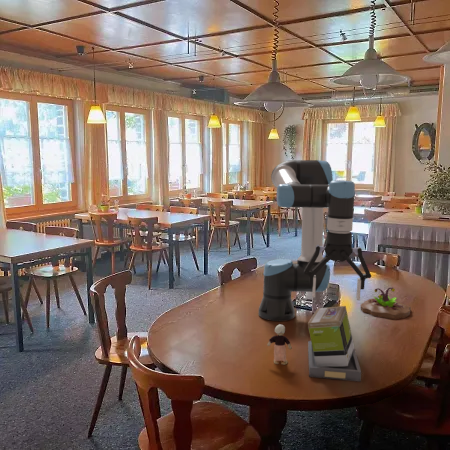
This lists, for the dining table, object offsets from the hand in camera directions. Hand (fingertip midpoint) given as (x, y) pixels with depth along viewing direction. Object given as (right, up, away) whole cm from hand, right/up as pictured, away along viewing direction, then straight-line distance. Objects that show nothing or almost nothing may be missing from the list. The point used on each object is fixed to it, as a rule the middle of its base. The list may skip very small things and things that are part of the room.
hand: (335, 297), depth 141 cm
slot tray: (0, -22, +3) cm, 22 cm away
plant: (+35, -15, +55) cm, 67 cm away
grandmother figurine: (-17, -22, +4) cm, 28 cm away
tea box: (+1, -20, +3) cm, 20 cm away
